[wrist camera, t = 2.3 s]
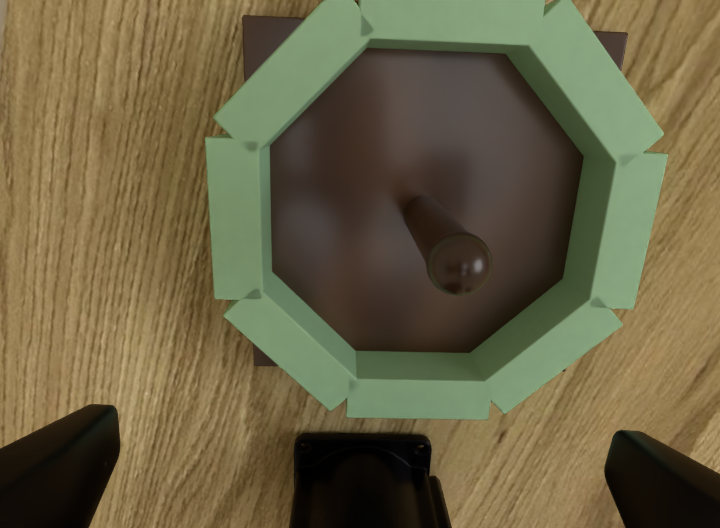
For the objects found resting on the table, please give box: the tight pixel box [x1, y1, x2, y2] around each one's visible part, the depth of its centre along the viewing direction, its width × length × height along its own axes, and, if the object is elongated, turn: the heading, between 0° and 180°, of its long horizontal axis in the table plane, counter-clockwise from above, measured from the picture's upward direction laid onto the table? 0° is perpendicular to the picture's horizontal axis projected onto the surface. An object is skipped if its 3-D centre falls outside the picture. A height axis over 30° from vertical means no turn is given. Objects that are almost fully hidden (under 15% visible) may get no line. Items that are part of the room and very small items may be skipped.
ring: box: [205, 0, 668, 420], centre depth 18 cm, size 16×16×2 cm
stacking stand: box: [242, 15, 628, 372], centre depth 16 cm, size 14×14×8 cm
